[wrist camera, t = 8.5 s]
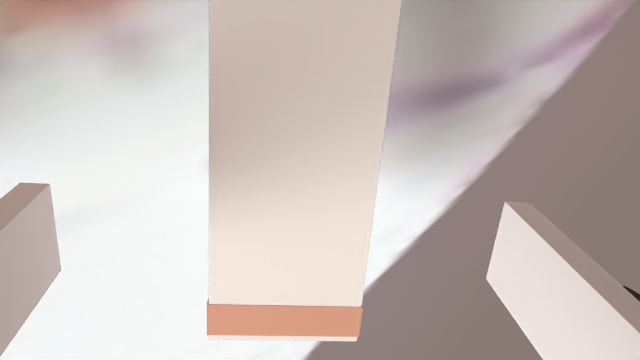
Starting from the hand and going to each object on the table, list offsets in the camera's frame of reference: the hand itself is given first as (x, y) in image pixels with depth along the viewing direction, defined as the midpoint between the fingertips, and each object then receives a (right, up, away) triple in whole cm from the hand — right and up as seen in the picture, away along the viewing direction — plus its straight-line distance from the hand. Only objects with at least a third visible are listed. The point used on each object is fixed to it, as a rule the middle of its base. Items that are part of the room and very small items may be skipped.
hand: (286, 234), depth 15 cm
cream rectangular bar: (0, +5, +2) cm, 5 cm away
